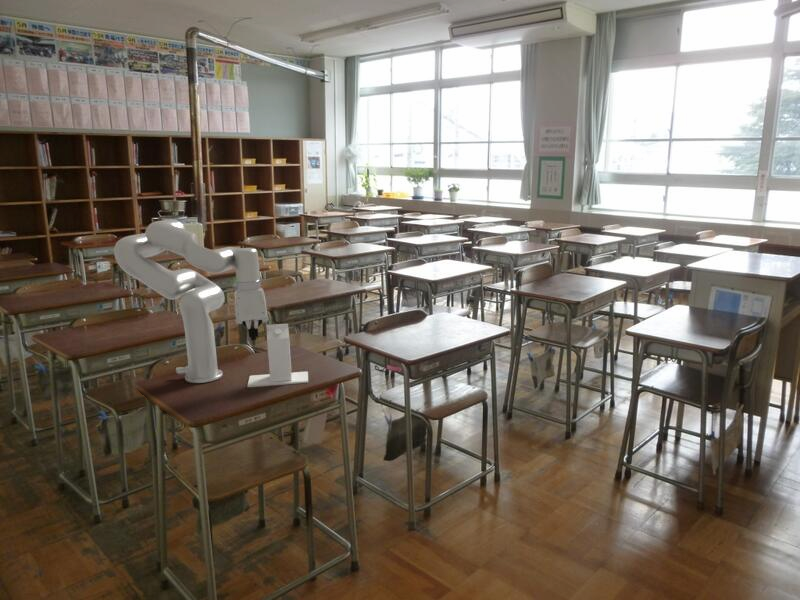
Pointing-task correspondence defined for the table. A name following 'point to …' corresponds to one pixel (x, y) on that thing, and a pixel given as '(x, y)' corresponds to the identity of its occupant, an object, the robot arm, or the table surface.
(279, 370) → the milk carton
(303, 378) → the mat
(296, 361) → the table surface
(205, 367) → the robot arm
